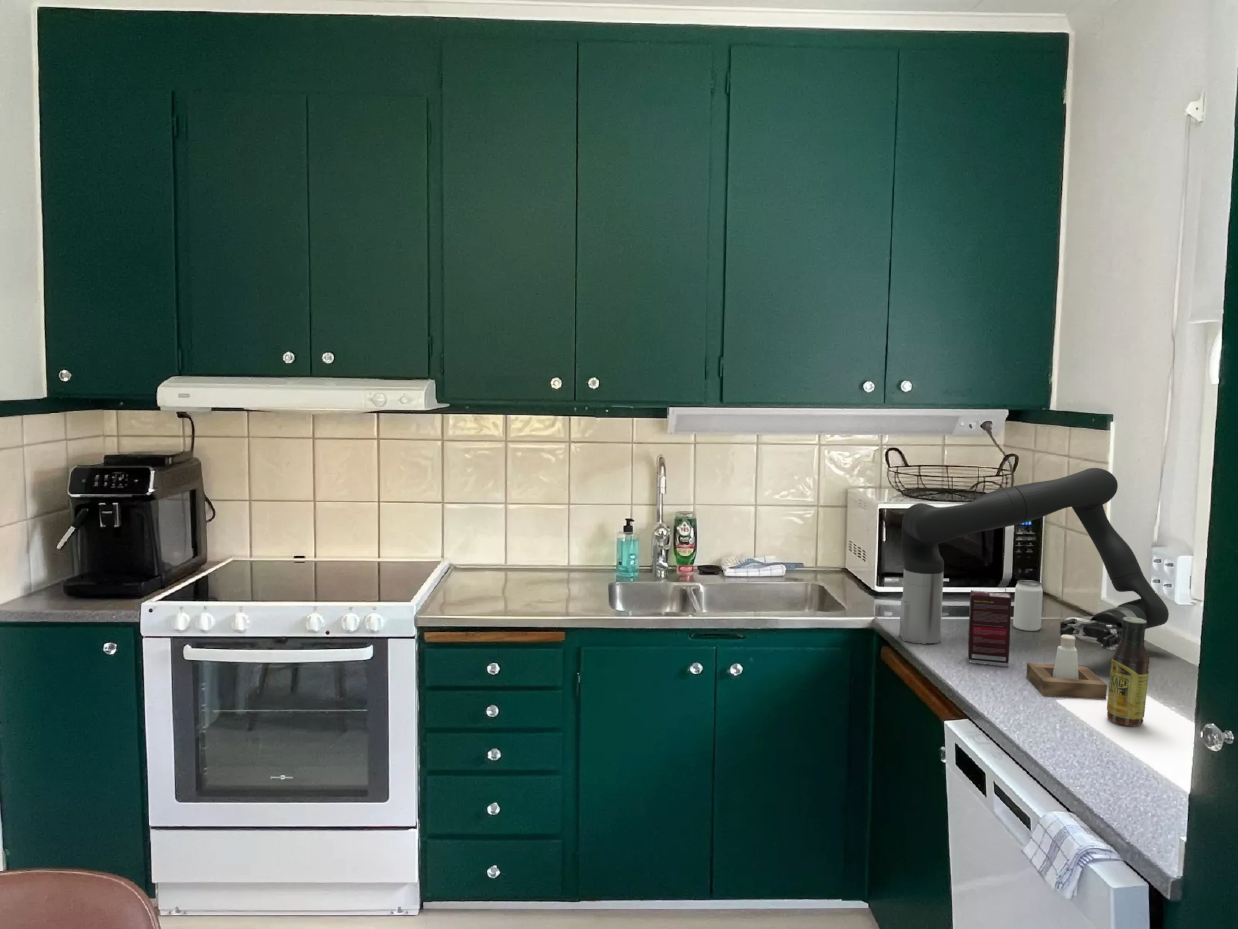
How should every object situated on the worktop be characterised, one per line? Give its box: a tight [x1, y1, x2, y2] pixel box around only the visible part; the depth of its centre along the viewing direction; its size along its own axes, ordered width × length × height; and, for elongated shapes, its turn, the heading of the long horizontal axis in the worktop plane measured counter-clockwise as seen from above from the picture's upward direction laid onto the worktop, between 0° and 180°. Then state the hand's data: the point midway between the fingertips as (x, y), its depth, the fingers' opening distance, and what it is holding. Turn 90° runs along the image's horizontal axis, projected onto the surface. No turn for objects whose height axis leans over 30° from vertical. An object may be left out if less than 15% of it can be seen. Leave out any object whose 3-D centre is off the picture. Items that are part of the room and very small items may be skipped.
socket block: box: [1025, 662, 1108, 700], centre depth 193 cm, size 12×12×3 cm
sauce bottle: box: [1106, 617, 1150, 727], centre depth 173 cm, size 6×6×20 cm
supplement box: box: [967, 589, 1012, 668], centre depth 209 cm, size 9×5×16 cm, turn 71°
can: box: [1012, 579, 1044, 632], centre depth 238 cm, size 6×6×12 cm
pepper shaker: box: [1052, 634, 1079, 679], centre depth 192 cm, size 5×5×11 cm
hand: (1083, 638), depth 197 cm, fingers open, 8 cm apart
